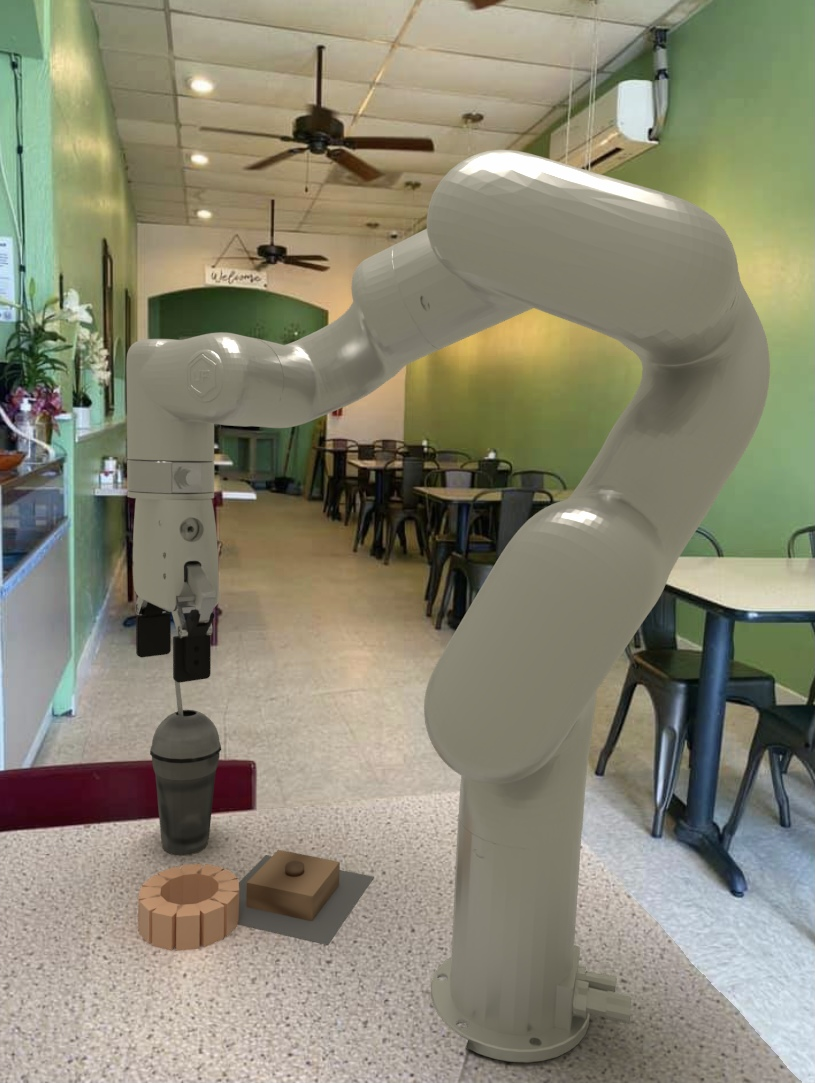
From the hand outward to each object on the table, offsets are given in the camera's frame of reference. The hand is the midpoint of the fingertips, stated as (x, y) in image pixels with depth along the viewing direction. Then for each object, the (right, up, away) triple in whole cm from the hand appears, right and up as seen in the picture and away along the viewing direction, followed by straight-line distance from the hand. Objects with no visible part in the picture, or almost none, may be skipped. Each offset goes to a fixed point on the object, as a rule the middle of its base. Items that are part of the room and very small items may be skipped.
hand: (171, 666), depth 75 cm
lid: (+11, -22, +3) cm, 25 cm away
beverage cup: (-2, -22, +12) cm, 25 cm away
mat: (+11, -23, +3) cm, 26 cm away
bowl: (+2, -23, -2) cm, 24 cm away
